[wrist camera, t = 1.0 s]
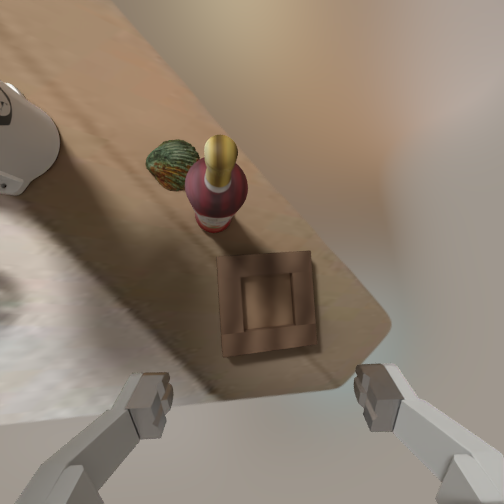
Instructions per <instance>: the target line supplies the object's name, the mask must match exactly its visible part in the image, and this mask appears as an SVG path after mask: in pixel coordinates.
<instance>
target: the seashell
mask: <svg viewBox="0 0 504 504" xmlns="http://www.w3.org/2000/svg"><path fill="white" fill-rule="evenodd" d="M198 160H200V159H199V155H198V153H197V152H196V151H195V147H192V146H191V144H189V143H187V142H185V141H183V140H169V141H165V142H163V143H162V144H161V145H160V146H159V147H158V148H156V149H154V150H153V151H152V152H151V153H150V154H149V155H148V157H147V159H146V167H147V169H148V170H149V171H150V172H151V173H153V174H154V175H155V176H156V177H155V179H156V180H157V181H158V182H159V183H160V184H161V185H162V186H163V187H164V188H166V189H168V190H176V191H178V190H179V189H180V190H183V188H185V179H186V176H187V173H188V171H189V169H190V168H191V167H192V165H193V164H194V163H196V162H197V161H198Z"/></svg>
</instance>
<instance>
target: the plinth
mask: <svg viewBox="0 0 504 504" xmlns="http://www.w3.org/2000/svg"><path fill="white" fill-rule="evenodd" d="M216 262H217V279H218V295H219V311H220V327H221V343H222V354H223V357H230V356H237V355H245V354H252V353H259V352H266V351H273V350H280V349H287V348H295V347H302V346H309V345H316V344H317V333H316V319H315V305H314V291H313V278H312V264H311V251H297V252H281V253H265V254H250V255H234V256H218V257H216Z"/></svg>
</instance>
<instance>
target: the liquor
mask: <svg viewBox="0 0 504 504" xmlns="http://www.w3.org/2000/svg"><path fill="white" fill-rule="evenodd" d="M204 156H205V157H204V158H202V159H200V160H198V161H197V162H196V163H194V164H193V165H192V167H191V168H190V169H189V171H188V173H187V176H186V179H185V191H186V194H187V197H188V199H189V201H190V203H191V205H192V207H193V209H194V211H195V218H196V221H197V223H198V225H199V226H200V227H201V228H202V229H203V230H205V231H207V232H211V233H217V232H221V231H223V230H224V229H226V228H227V227H228V226H229V224H230V222H231V219H232V217H233V216H234V215H235V213H236V212H237V211H238V210H239V209H240V207H241V206H242V205H243V203H244V201H245V200H246V197H247V192H248V184H247V179H246V176H245V174H244V172H243V171H242V169H241V168H240V167H239V166H238V165H237V164H236V159H237V156H238V149H237V146H236V144H235V142H234V141H233V140H232V139H231V138H229V137H227V136H225V135H215V136H213V137H211V138H210V139H209V140H208V141H207V142H206V144H205V148H204Z"/></svg>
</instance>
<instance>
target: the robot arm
mask: <svg viewBox="0 0 504 504" xmlns="http://www.w3.org/2000/svg"><path fill="white" fill-rule="evenodd" d="M59 148H60V138H59V133H58V130H57V128H56V125H55V124H54V122H53V121H52V119H51V118H50V117H49V116H48V115H47V114H46V113H45V112H44V111H43V110H42V109H40V108H39V107H37V106H35V105H34V104H32V103H31V102H29V101H28V100H26V98H25V97H24V96H23V94H22V93H21V92H20V91H19V90H18V89H17V88H16V87H14V86H13V85H11V84H9V83H4V82H2V81H1V80H0V193H1V194H7V195H19V194H21V193H22V192H23V191H24V190H25V189H26V187H27V186H28V185H29V183H30V182H31V181H32V180H33V179H35V178H37V177H38V176H40V175H42V174H43V173H44V172H46V171H47V170H48V169H49V168H50V167H51V166H52V164H53V163H54V162H55V160H56V158H57V156H58V152H59ZM5 185H7V186H6V188H4V186H5ZM355 371H356V374H357V377H356V378H354V392H355V395H356V398H357V401H358V403H359V404H360V405H361V406H362V407H363V408H364V413H363V415H364V417H365V420H366V422H367V424H368V427H369V429H370V431H371V432H393V434H394V435H395V436H396V437H397V438H398V439H399V440H400V441H401V442H402V443H403V444H404V445H405V446H406V447H407V448H408V449H409V450H410V451H411V452H412V453H413V454H414V455H415V456H416V457H417V458H418V459H419V460H420V461H421V462H422V463H423V464H424V465H425V466H426V467H427V468H428V469H429V470H430V471H431V472H432V473H433V474H434V475H435V476H436V477H437V478H438V479H439V480H440V481H441V482H442V484H441V486H440V488H439V491H438V493H437V496H436V501H437V503H438V504H504V456H503V455H502V454H501V452H499V451H498V450H496V449H495V448H493V447H492V446H491V445H489V444H488V443H486V442H485V441H483V440H482V439H480V438H479V437H478V436H476V435H475V434H473V433H472V432H470V431H469V430H467V429H466V428H464V427H463V426H462V425H460V424H459V423H457V422H456V421H454V420H453V419H451V418H450V417H449V416H447V415H446V414H444V413H443V412H441V411H440V410H438V409H437V408H436V407H434V406H432V405H431V404H430V403H428V402H427V401H425V400H424V399H419V397H418V396H417V394H416V393H415V392H414V390H413V389H412V387H411V386H410V384H409V383H408V382H407V380H406V378H405V377H404V375H403V374H402V373H401V371H400V370H399V368H398V367H397V365H396V364H394V363H385V364H361V365H357V366H356V370H355ZM169 380H170V376H169V373H167V372H157V373H133V374H131V375H130V376H129V378H128V380H127V382H126V384H125V385H124V387H123V389H122V391H121V393H120V394H119V396H118V398H117V400H116V401H115V403H114V405H113V407H112V409H111V410H107V411H106V412H104V413H103V414H102V415H101V416H100V417H98V418H97V419H96V420H95V421H93V422H92V423H91V424H90V425H89V426H87V427H86V428H85V429H84V430H83V431H81V432H80V433H79V434H78V435H77V436H75V437H74V438H73V439H72V440H70V441H69V442H68V443H67V444H66V445H64V446H63V447H62V448H61V449H60V450H58V451H57V452H56V453H55V454H53V455H52V456H51V457H50V458H49V459H47V460H46V461H45V462H44V463H43V464H41V466H40V467H39V469H38V470H37V472H36V473H35V474H34V476H33V477H32V479H31V480H30V482H29V483H28V485H27V486H26V488H25V489H24V491H23V492H22V493H21V495H20V497H19V498H18V500H17V501H16V502H15V504H104V502H103V500H102V498H101V497H100V495H99V493H98V490H99V489H100V488H101V487H102V486H103V484H104V483H105V482H106V481H107V480H108V478H109V477H110V476H111V475H112V474H113V472H114V471H115V470H116V469H117V468H118V466H119V465H120V464H121V463H122V462H123V460H124V459H125V458H126V457H127V456H128V455H129V453H130V452H131V451H132V450H133V449H134V447H135V446H136V445H137V444H138V443H139V441H140V439H156V438H161V436H162V433H163V430H164V427H165V424H166V417H165V414H166V413H167V412H168V411H169V410H170V408H171V405H172V401H173V387H172V385H171V384H170V383H169Z"/></svg>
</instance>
